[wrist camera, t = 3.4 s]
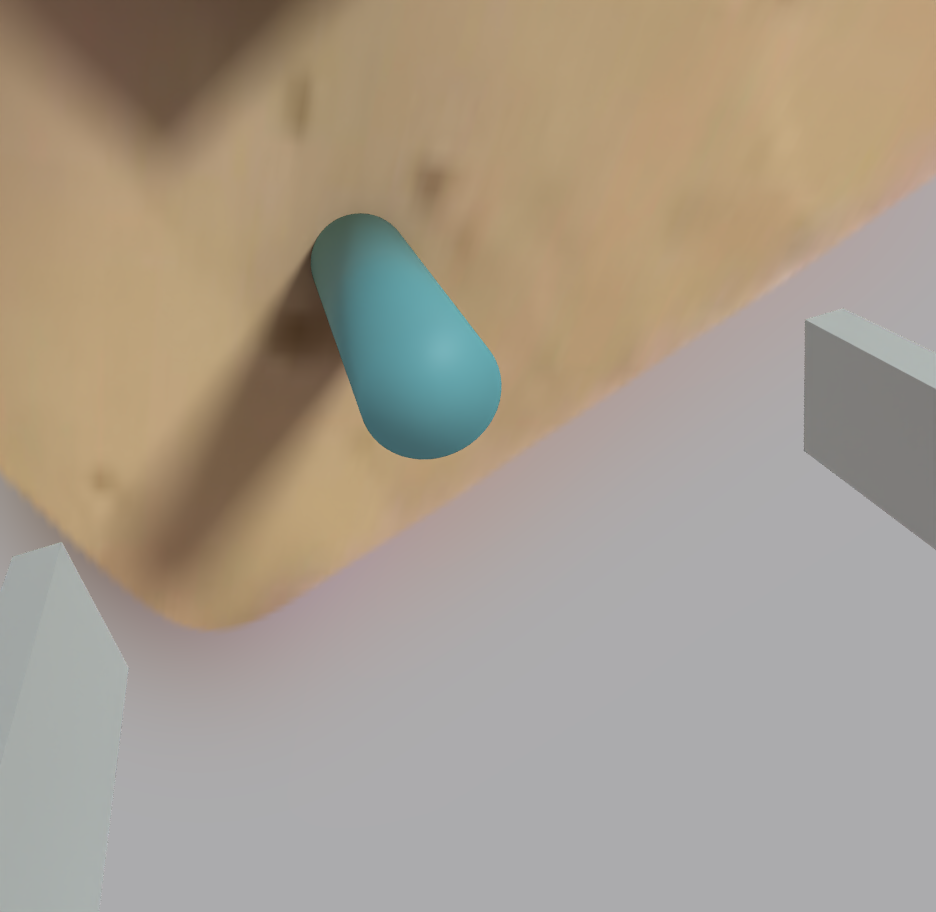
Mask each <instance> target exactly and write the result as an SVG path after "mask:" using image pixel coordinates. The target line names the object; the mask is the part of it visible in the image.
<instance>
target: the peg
mask: <svg viewBox="0 0 936 912" xmlns="http://www.w3.org/2000/svg"><path fill="white" fill-rule="evenodd" d="M311 271H312V276H313V279H314V282H315V284H316V287H317V290H318V293H319V296H320V299H321V302H322V304H323V307H324V310H325V313H326V316H327V319H328V321H329V324H330V327H331V330H332V333H333V336H334V339H335V341H336V344H337V347H338V350H339V353H340V356H341V359H342V361H343V364H344V367H345V370H346V373H347V376H348V379H349V381H350V384H351V387H352V390H353V393H354V396H355V399H356V401H357V404H358V407H359V410H360V413H361V416H362V418H363V421H364V424H365V425H366V427H367V429H368V431H369V432H370V434H371V435H372V436H373V438H374V439H375V440H376V441H377V442H378V443H379V444H381V445H382V446H383V447H385V448H386V449H388V450H390V451H391V452H393V453H395V454H398V455H401V456H404V457H408V458H413V459H434V458H440V457H444V456H447V455H450V454H453V453H455V452H457V451H459V450H461V449H463V448H465V447H466V446H468V445H470V444H471V443H472V442H473V441H475V440H476V439H477V438H478V437H479V436H480V435H481V434H482V433H483V432H484V431H485V429H486V428H487V427H488V425H489V424H490V422H491V421H492V419H493V417H494V415H495V413H496V411H497V408H498V405H499V401H500V396H501V376H500V372H499V368H498V365H497V363H496V360H495V358H494V357H493V355H492V353H491V352H490V350H489V349H488V348H487V346H486V345H485V344H484V343H483V341H482V340H481V339H480V337H479V336H478V335H477V333H476V332H475V331H474V329H473V328H472V327H471V326H470V324H469V323H468V322H467V320H466V319H465V318H464V316H463V315H462V314H461V313H460V311H459V310H458V309H457V307H456V306H455V305H454V303H453V302H452V301H451V300H450V298H449V297H448V296H447V294H446V293H445V292H444V290H443V289H442V288H441V287H440V285H439V284H438V283H437V281H436V280H435V279H434V277H433V276H432V275H431V273H430V272H429V271H428V270H427V268H426V267H425V266H424V264H423V263H422V262H421V260H420V259H419V258H418V257H417V255H416V254H415V253H414V251H413V250H412V249H411V247H410V246H409V245H408V244H407V242H406V241H405V240H404V238H403V237H402V236H401V234H400V233H399V232H398V231H397V229H396V228H395V227H393V226H392V225H391V224H390V223H389V222H387V221H386V220H384V219H382V218H380V217H377V216H374V215H370V214H362V213H360V214H351V215H346V216H343V217H341V218H339V219H337V220H335V221H333V222H332V223H330V224H329V225H328V226H327V227H326V228H325V229H324V230H323V231H322V232H321V233H320V235H319V236H318V238H317V240H316V242H315V244H314V247H313V250H312V254H311Z"/></svg>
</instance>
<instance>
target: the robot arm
mask: <svg viewBox="0 0 936 912" xmlns="http://www.w3.org/2000/svg"><path fill="white" fill-rule="evenodd" d="M804 381H805V383H804V384H805V385H804V451H805V452H806V453H808V454H809V455H811V456H812V457H813V458H814V459H816V460H817V461H818V462H820V463H821V464H822V465H824V466H825V467H826V468H828V469H829V470H830V471H832V472H833V473H835V474H836V475H837V476H838V477H840V478H841V479H843V480H844V481H845V482H846V483H848V484H849V485H850V486H852V487H853V488H854V489H856V490H857V491H858V492H860V493H861V494H862V495H864V496H865V497H866V498H868V499H869V500H870V501H872V502H873V503H874V504H876V505H877V506H878V507H879V508H881V509H882V510H883V511H885V512H886V513H887V514H889V515H890V516H892V517H893V518H894V519H896V520H897V521H898V522H899V523H901V524H902V525H903V526H905V527H906V528H908V529H909V530H910V531H911V532H913V533H914V534H915V535H917V536H918V537H919V538H921V539H922V540H923V541H925V542H926V543H928V544H929V545H930V546H931V547H933V548H934V549H935V550H936V353H935V352H933V351H931V350H929V349H927V348H925V347H923V346H921V345H919V344H917V343H915V342H912V341H911V340H908V339H906V338H904V337H902V336H900V335H898V334H896V333H894V332H892V331H890V330H887V329H886V328H883V327H881V326H879V325H877V324H875V323H873V322H871V321H869V320H867V319H865V318H863V317H861V316H858V315H856V314H854V313H852V312H850V311H848V310H846V309H844V308H842V309H839V310H835V311H832V312H829V313H825V314H822V315H819V316H815V317H812V318H809V319H805V380H804ZM128 670H129V667H128V665H127V663H126V662H125V660H124V658H123V656H122V654H121V652H120V650H119V648H118V646H117V645H116V643H115V641H114V639H113V637H112V635H111V633H110V631H109V630H108V628H107V626H106V624H105V622H104V620H103V619H102V616H101V615H100V613H99V611H98V609H97V607H96V605H95V603H94V602H93V600H92V598H91V596H90V594H89V592H88V590H87V588H86V586H85V585H84V583H83V581H82V579H81V577H80V575H79V573H78V571H77V570H76V568H75V566H74V564H73V562H72V560H71V558H70V556H69V555H68V553H67V551H66V549H65V547H64V545H63V543H62V542H60V543H56V544H54V545H50V546H47V547H44V548H40V549H36V550H33V551H30V552H26V553H23V554H20V555H16V556H13V557H12V560H11V562H10V565H9V568H8V571H7V573H6V576H5V579H4V582H3V585H2V588H1V590H0V912H99V908H100V899H101V892H102V883H103V875H104V866H105V859H106V851H107V843H108V834H109V825H110V818H111V810H112V802H113V793H114V785H115V777H116V769H117V761H118V752H119V743H120V735H121V728H122V720H123V711H124V703H125V695H126V687H127V679H128Z"/></svg>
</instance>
